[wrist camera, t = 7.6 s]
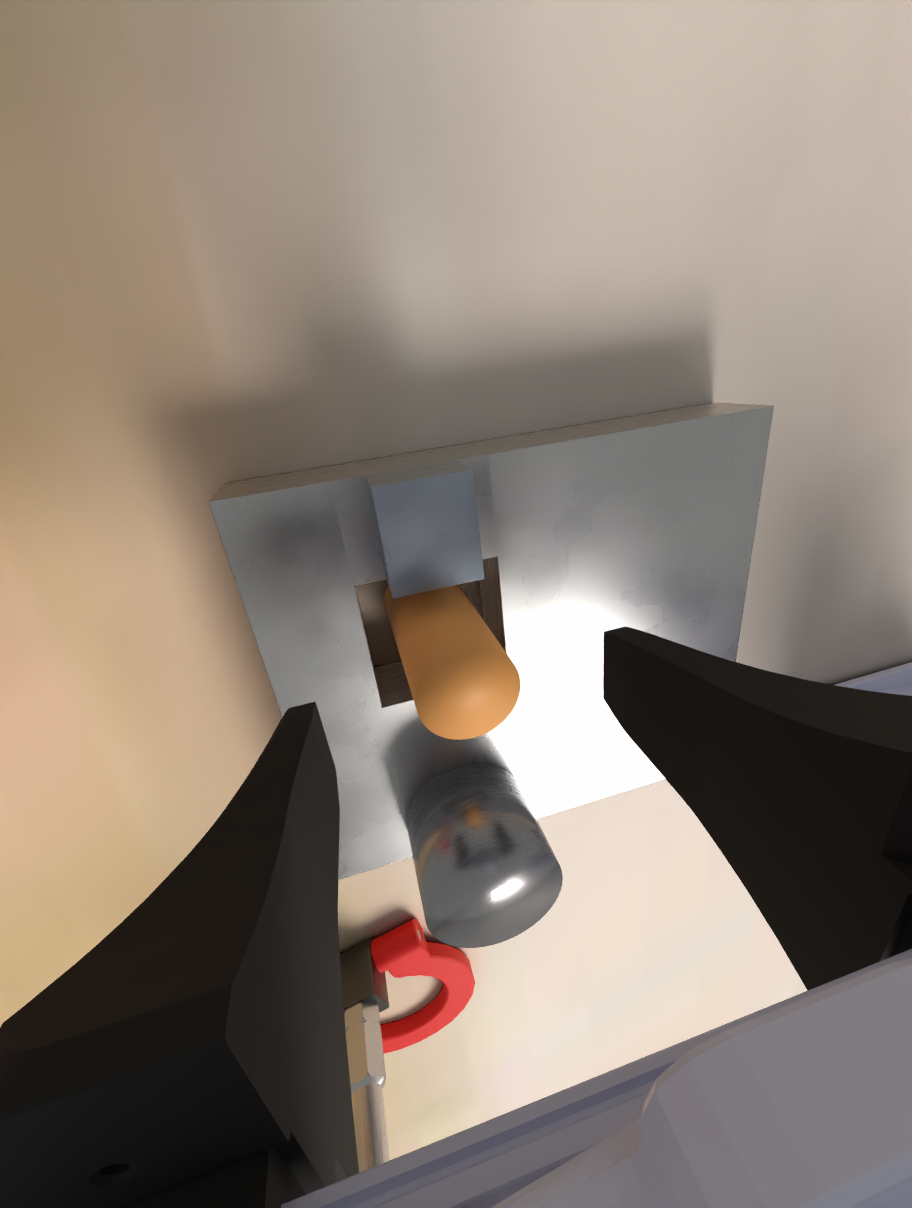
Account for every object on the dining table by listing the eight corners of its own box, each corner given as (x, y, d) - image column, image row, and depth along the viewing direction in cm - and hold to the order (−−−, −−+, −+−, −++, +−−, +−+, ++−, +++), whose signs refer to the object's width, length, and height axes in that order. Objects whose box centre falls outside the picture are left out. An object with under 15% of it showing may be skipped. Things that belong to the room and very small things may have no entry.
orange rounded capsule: (455, 556, 17) (518, 637, 12) (461, 623, 18) (522, 725, 13) (379, 569, 16) (408, 660, 11) (390, 638, 17) (422, 750, 12)
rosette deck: (713, 402, 17) (895, 412, 12) (680, 736, 23) (787, 841, 18) (225, 483, 14) (170, 544, 9) (340, 837, 21) (348, 995, 15)
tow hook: (488, 979, 28) (428, 900, 24) (606, 1385, 17) (536, 1388, 12) (354, 1049, 28) (265, 983, 23) (385, 1513, 17) (227, 1566, 12)
